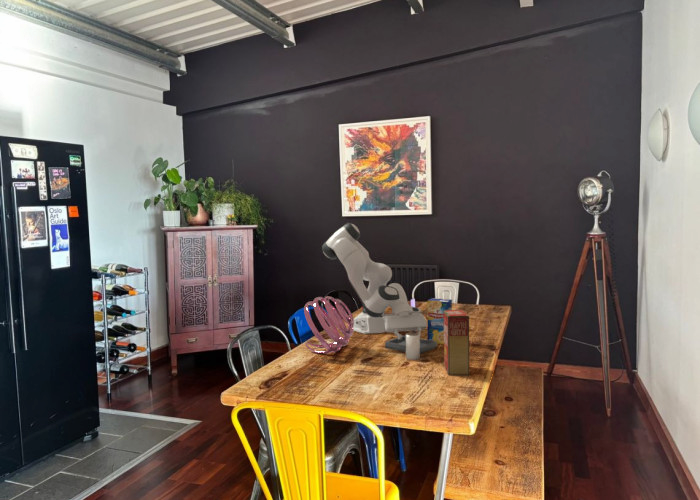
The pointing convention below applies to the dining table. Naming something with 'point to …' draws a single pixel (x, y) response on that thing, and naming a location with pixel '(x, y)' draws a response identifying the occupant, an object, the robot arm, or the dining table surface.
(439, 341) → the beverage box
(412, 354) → the cup
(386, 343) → the tray
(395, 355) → the dining table surface
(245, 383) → the dining table surface
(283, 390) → the dining table surface
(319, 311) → the spiral basket
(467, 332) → the food packaging
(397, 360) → the dining table surface
